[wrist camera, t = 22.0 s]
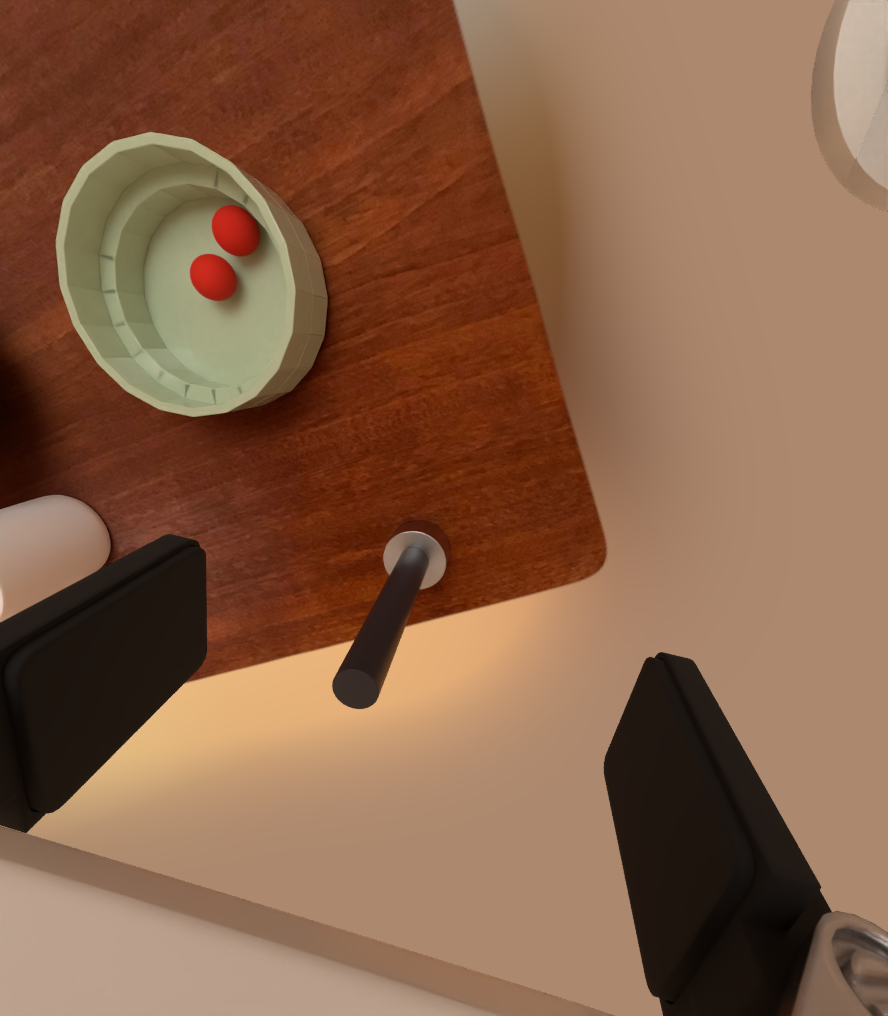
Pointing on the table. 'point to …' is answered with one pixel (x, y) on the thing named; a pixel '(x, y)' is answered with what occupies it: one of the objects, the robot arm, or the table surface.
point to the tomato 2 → (213, 277)
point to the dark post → (391, 610)
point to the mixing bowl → (186, 279)
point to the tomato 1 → (235, 230)
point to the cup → (47, 549)
